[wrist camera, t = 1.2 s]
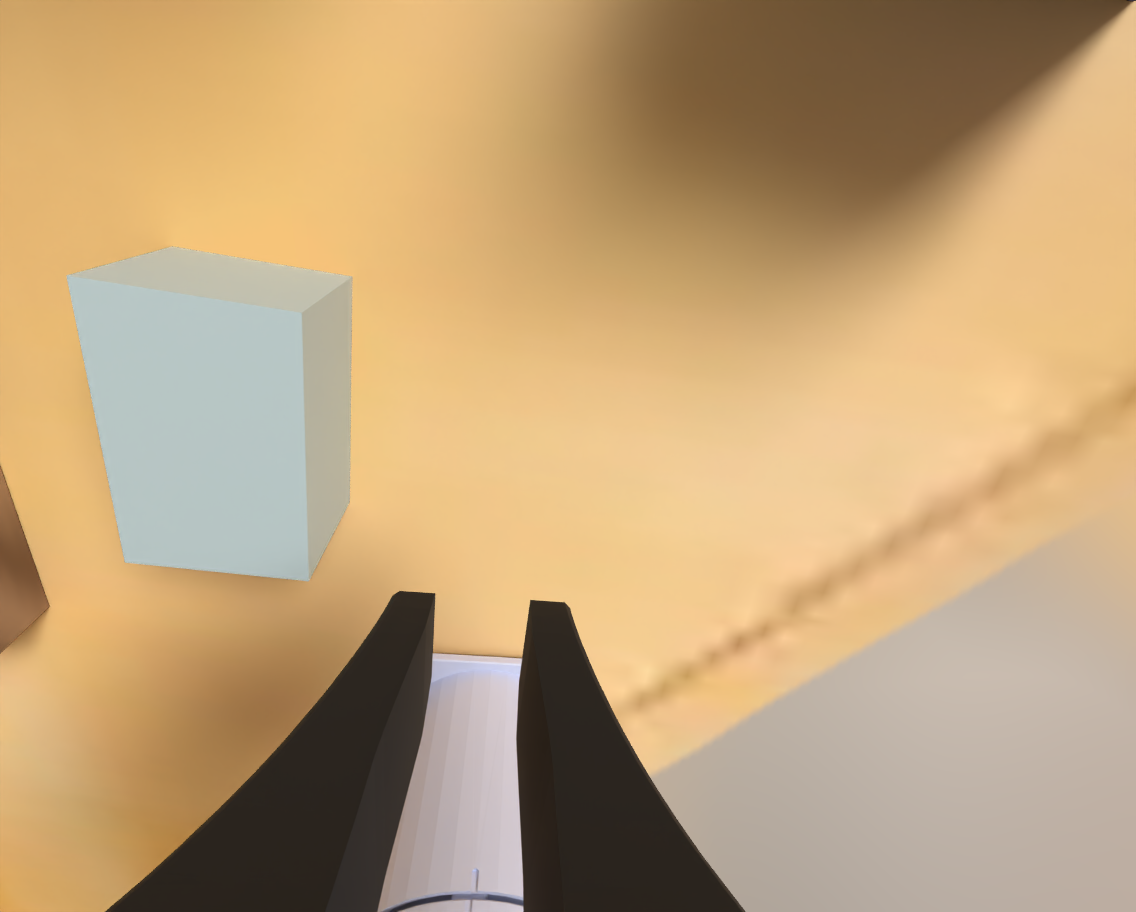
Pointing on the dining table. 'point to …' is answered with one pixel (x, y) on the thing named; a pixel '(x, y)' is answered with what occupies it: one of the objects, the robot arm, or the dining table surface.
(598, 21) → the dining table surface
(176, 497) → the block
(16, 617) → the board
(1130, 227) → the dining table surface
